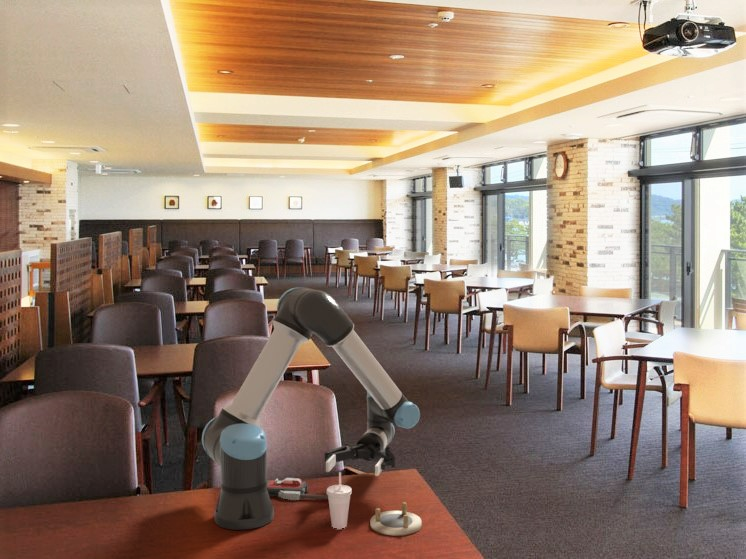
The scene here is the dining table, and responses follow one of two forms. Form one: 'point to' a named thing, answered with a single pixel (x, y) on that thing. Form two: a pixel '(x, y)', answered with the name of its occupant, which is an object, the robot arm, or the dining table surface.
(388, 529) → the cup holder base
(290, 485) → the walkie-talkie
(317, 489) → the dining table surface
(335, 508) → the smoothie
